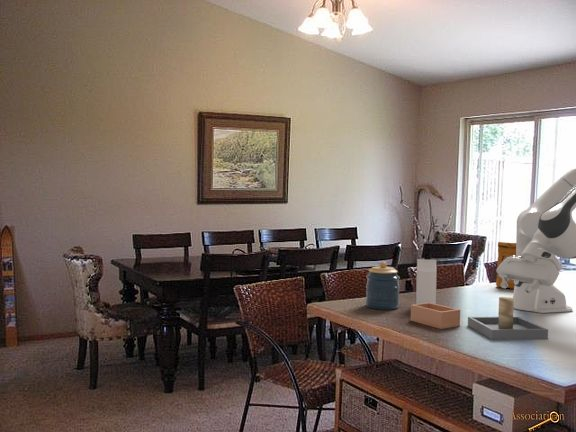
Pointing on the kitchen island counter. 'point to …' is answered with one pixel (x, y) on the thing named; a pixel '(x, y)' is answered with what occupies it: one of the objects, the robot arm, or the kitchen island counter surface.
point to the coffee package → (503, 253)
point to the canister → (382, 288)
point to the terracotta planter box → (435, 315)
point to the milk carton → (426, 281)
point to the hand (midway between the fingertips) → (515, 289)
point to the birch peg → (506, 313)
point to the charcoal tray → (519, 331)
